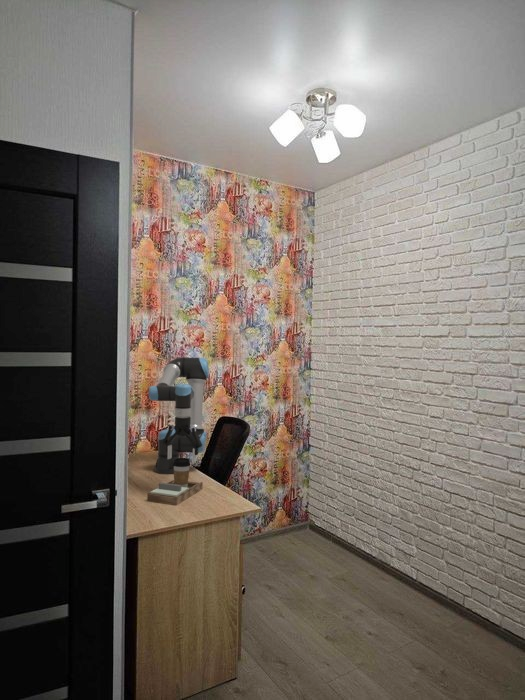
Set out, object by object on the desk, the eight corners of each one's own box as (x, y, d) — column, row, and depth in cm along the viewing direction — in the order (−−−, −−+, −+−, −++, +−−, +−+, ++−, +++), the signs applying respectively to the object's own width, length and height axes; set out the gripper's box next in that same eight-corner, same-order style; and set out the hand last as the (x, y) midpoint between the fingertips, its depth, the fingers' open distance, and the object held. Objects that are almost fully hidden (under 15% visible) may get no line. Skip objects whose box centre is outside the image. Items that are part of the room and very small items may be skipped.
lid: (164, 486, 231) (164, 479, 231) (188, 489, 227) (188, 482, 227) (150, 493, 220) (150, 486, 220) (175, 496, 216) (176, 489, 216)
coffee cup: (192, 488, 237) (193, 458, 237) (186, 493, 229) (187, 462, 229) (176, 487, 239) (176, 457, 239) (169, 492, 231) (170, 460, 231)
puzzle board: (175, 485, 244) (175, 478, 244) (202, 489, 239) (202, 482, 239) (147, 500, 219) (147, 493, 219) (176, 505, 214) (176, 497, 214)
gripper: (156, 415, 234) (155, 459, 235) (202, 419, 226) (201, 464, 227) (164, 413, 241) (163, 455, 242) (209, 417, 233) (208, 460, 234)
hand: (182, 460), depth 234 cm, fingers open, 13 cm apart
